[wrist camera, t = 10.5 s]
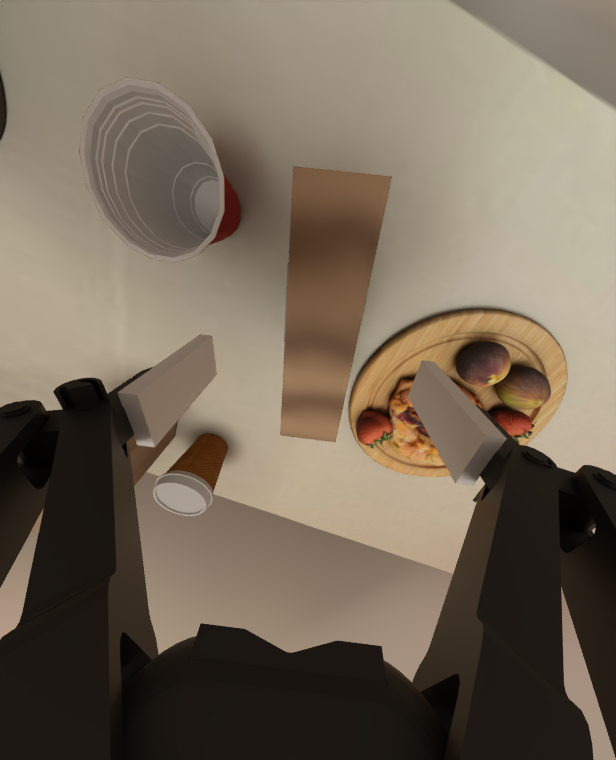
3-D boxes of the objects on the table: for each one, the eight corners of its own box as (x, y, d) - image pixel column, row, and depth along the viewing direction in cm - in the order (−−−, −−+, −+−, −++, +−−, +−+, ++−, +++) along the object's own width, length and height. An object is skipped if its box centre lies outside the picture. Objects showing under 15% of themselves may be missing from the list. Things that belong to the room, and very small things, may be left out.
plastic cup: (273, 169, 25) (234, 112, 15) (252, 271, 31) (212, 281, 20) (174, 126, 24) (59, 32, 14) (170, 239, 30) (84, 233, 19)
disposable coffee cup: (221, 467, 51) (193, 524, 40) (182, 445, 48) (141, 499, 38) (244, 444, 47) (219, 500, 36) (202, 419, 44) (162, 471, 34)
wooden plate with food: (335, 458, 47) (337, 496, 40) (370, 294, 31) (385, 309, 24) (492, 475, 47) (522, 517, 40) (609, 320, 31) (696, 342, 24)
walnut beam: (305, 194, 21) (293, 166, 14) (370, 201, 21) (391, 176, 14) (290, 394, 32) (280, 435, 25) (333, 400, 32) (335, 442, 25)
